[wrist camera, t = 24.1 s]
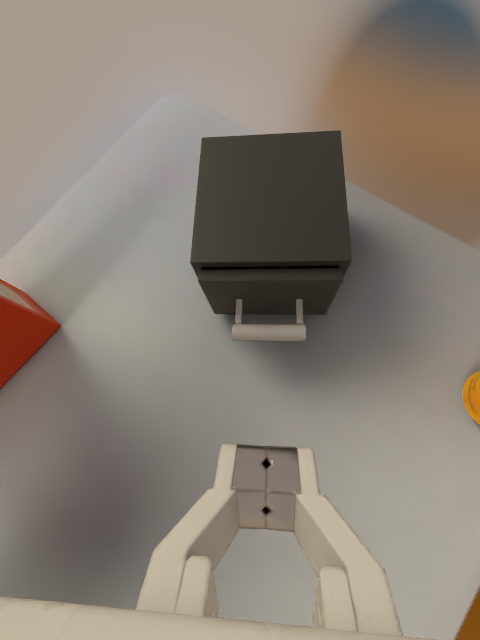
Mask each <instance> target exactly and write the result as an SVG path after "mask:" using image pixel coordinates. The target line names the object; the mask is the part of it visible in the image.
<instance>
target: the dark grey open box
mask: <svg viewBox="0 0 480 640" xmlns="http://www.w3.org/2000/svg"><path fill="white" fill-rule="evenodd" d="M351 261H352V258H351V247H350V235H349V223H348V212H347V200H346V189H345V177H344V166H343V155H342V143H341V132H340V131H323V132H303V133H285V134H266V135H246V136H227V137H208V138H202V143H201V154H200V165H199V175H198V186H197V197H196V207H195V218H194V229H193V239H192V250H191V261H190V263H191V265H192V267H193V269H194V271H195V273H196V275H197V277H198V278H199V270H214V268H213V267H253V266H327V267H326V268H342V276H344V274H345V272H346V270H347V268H348V266H349V265H350V263H351Z"/></svg>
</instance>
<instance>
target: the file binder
mask: <svg viewBox="0 0 480 640" xmlns="http://www.w3.org/2000/svg"><path fill="white" fill-rule="evenodd" d="M59 327H60V325H59V324H58V323H57V322H56V321H55V320H54V319H53V318H52V317H51V316H50V315H48V314H47V313H46V312H45V311H44V310H43V309H42V308H41V307H40V306H39V305H38V304H37V303H36V302H34V301H33V300H32V299H31V298H30V297H29V296H28V295H27V294H26V293H24V292H23V291H22V290H20V289H18V288H16V287H14V286H12V285H10V284H8V283H6V282H5V281H3V280H1V279H0V388H1V387H2V386H3V385H4V384H5V383H6V382H7V381H8V380H9V379H10V378H11V377H12V376H13V375H14V374H15V373H16V372H17V371H18V369H19V368H20V367H21V366H22V365H23V364H24V363H25V362H26V361H27V360H28V359H29V358H30V357H31V356H32V355H33V354H34V353H35V352H36V351H37V350H38V349H39V348H40V347H41V346H42V345H43V344H44V343H45V342H46V341H47V340H48V338H49V337H50V336H51V335H52V334H53V333H54V332H55V331H56V330H57V329H58V328H59Z"/></svg>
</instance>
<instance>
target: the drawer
mask: <svg viewBox="0 0 480 640" xmlns="http://www.w3.org/2000/svg"><path fill="white" fill-rule="evenodd" d="M326 267H327V266H290V269H248V267H213V268H214V270H199V278H198V282H199V284H200V286H201V287H202V289H203V291H204V293H205V295H206V297H207V299H208V301H209V303H210V305H211V307H212V309H213V311H214V313H215V314H236V316H235V324H233V327H232V338H233V340H261V341H305V340H306V325H305V324H303V314H326V312H327V310H328V308H329V306H330V304H331V302H332V300H333V298H334V296H335V294H336V292H337V290H338V288H339V286H340V284H341V283H342V281H343V276H342V268H326ZM242 314H296V323H297V324H242Z"/></svg>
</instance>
